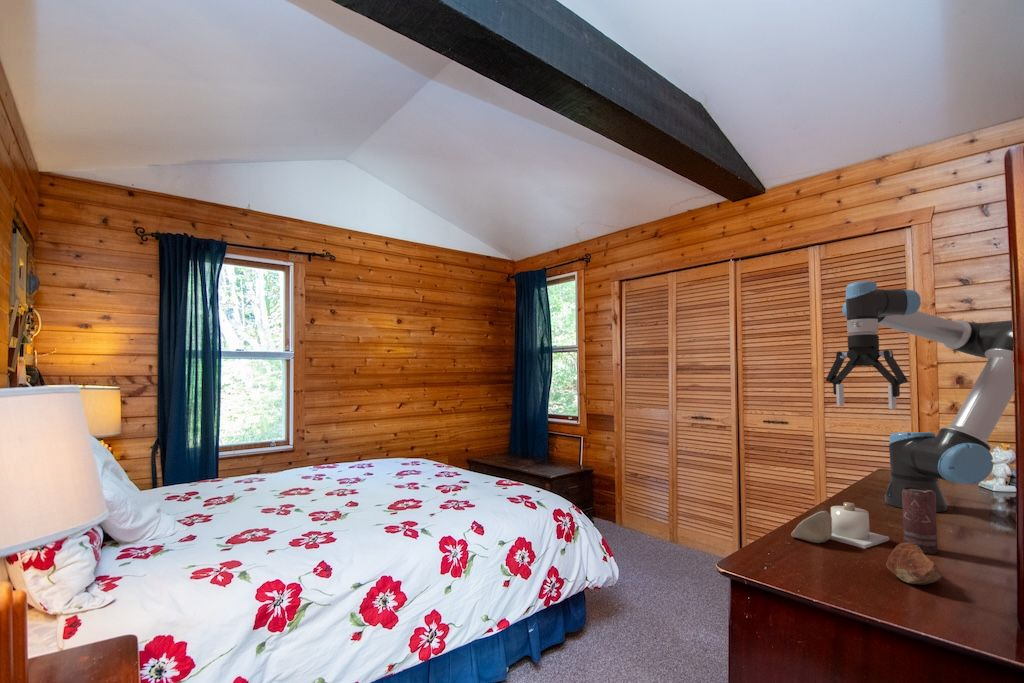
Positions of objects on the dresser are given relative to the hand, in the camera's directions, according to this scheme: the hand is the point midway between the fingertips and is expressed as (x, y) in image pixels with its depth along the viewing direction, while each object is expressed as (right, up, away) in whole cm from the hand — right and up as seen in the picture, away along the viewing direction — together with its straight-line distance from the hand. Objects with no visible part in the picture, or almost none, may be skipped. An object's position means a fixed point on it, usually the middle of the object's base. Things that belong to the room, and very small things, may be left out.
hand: (865, 407), depth 144 cm
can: (-6, -30, -27) cm, 41 cm away
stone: (-28, -31, -21) cm, 47 cm away
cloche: (-17, -30, -19) cm, 39 cm away
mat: (-17, -31, -19) cm, 40 cm away
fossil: (-22, -29, -44) cm, 57 cm away
